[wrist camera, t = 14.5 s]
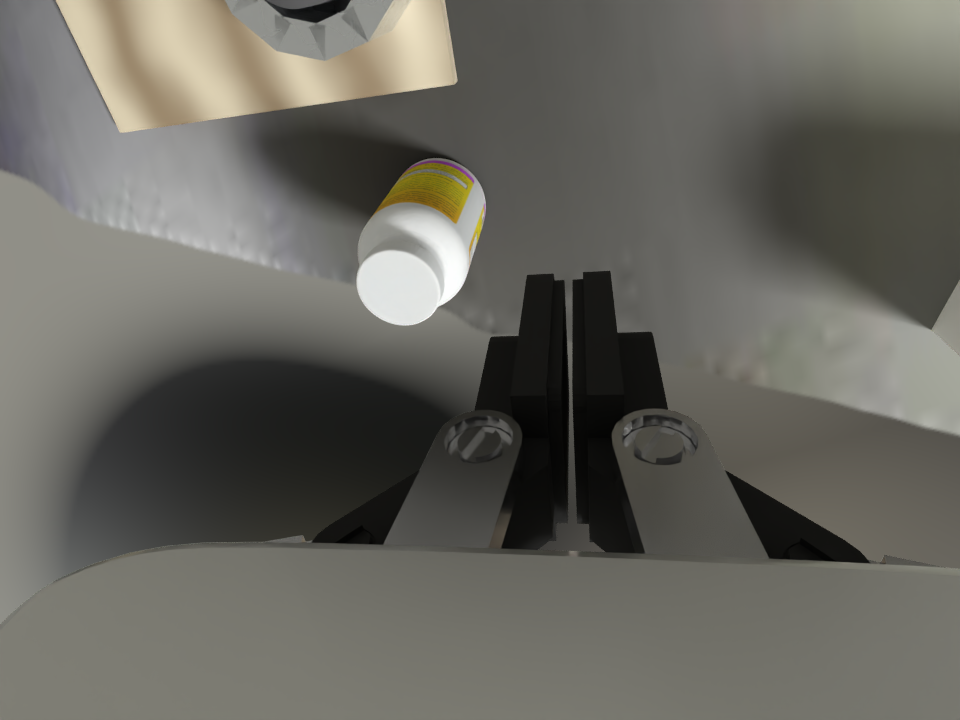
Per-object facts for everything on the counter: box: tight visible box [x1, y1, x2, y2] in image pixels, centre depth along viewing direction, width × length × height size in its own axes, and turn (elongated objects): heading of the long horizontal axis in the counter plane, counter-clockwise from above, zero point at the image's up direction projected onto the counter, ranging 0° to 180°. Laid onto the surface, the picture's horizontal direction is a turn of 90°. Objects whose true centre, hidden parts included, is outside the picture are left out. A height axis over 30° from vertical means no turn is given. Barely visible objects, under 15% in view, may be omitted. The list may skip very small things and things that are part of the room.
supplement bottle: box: [356, 158, 486, 325], centre depth 36 cm, size 7×7×13 cm
